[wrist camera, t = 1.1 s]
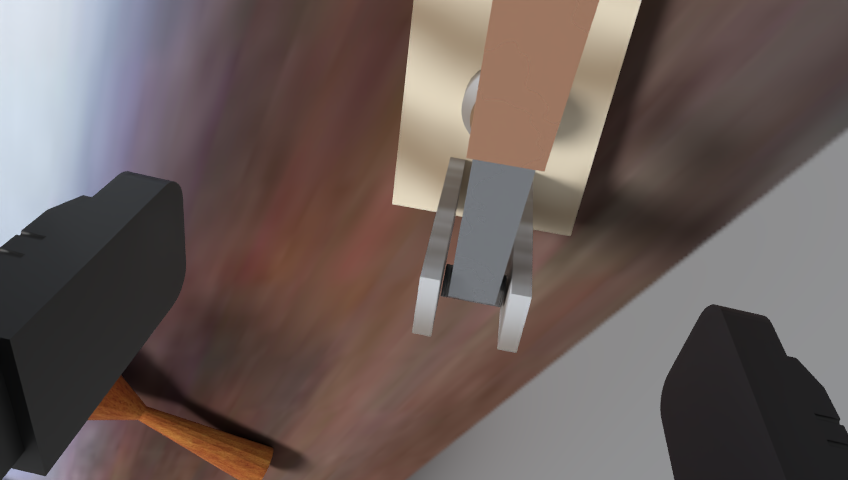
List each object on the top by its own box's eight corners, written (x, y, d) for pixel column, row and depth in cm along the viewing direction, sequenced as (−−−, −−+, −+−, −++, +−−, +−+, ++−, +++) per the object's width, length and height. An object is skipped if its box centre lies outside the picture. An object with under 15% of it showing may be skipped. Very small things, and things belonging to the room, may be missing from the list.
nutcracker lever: (508, 241, 30) (498, 323, 27) (453, 231, 30) (438, 312, 28) (619, -139, 16) (618, -45, 14) (517, -153, 16) (498, -64, 14)
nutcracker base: (443, -237, 26) (385, -265, 16) (694, -202, 25) (794, -207, 15) (397, 190, 37) (346, 329, 27) (569, 221, 37) (580, 374, 27)
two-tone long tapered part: (234, 512, 52) (-18, 405, 46) (261, 444, 56) (33, 338, 50) (263, 494, 48) (-9, 374, 42) (290, 422, 52) (46, 304, 46)
